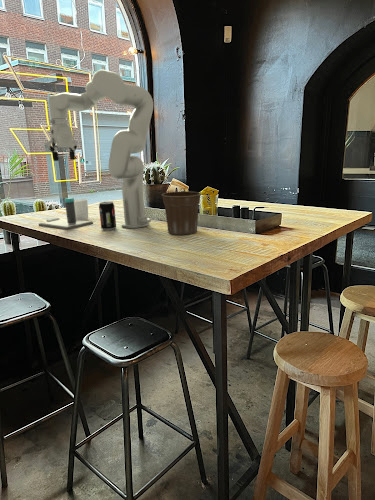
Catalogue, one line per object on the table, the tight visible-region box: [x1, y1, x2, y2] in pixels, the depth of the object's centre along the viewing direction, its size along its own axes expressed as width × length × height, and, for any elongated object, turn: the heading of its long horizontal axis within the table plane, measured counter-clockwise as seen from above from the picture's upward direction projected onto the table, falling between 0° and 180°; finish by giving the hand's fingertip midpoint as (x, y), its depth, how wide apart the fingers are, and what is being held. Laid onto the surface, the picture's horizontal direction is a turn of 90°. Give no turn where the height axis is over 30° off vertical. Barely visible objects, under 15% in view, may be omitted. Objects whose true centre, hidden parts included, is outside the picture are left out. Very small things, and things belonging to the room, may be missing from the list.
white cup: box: [74, 198, 89, 221], centre depth 192 cm, size 8×8×10 cm
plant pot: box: [161, 190, 202, 236], centre depth 153 cm, size 16×16×16 cm
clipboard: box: [38, 217, 94, 231], centre depth 180 cm, size 22×15×2 cm
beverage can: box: [98, 201, 117, 231], centre depth 165 cm, size 7×7×12 cm
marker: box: [64, 197, 76, 225], centre depth 173 cm, size 4×4×12 cm
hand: (64, 160), depth 180 cm, fingers open, 9 cm apart
